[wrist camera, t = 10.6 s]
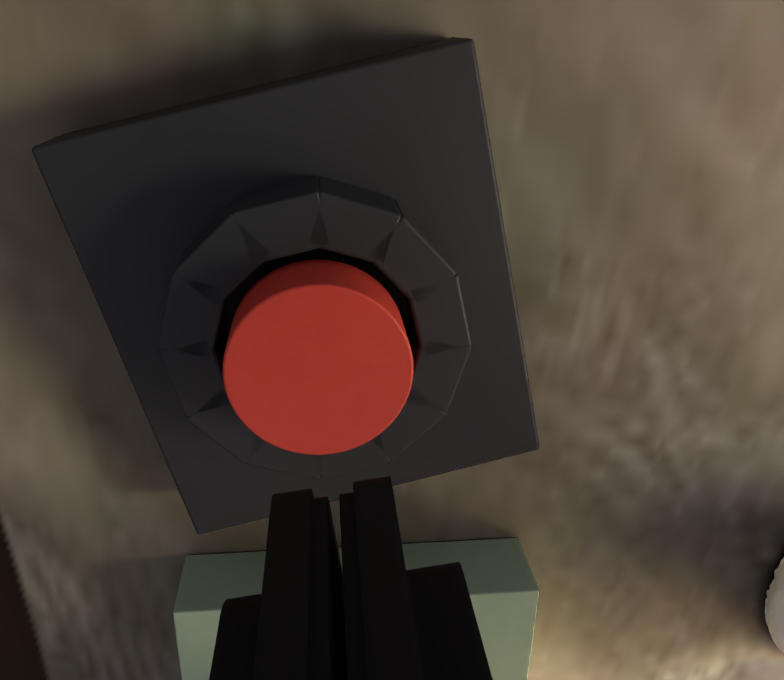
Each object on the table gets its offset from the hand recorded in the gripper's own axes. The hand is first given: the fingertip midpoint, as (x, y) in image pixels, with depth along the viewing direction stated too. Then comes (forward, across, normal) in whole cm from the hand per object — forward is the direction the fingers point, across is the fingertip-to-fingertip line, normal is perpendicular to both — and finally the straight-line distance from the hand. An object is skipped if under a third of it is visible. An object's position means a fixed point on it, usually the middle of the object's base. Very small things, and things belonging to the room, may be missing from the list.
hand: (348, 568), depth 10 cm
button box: (+11, 0, -1) cm, 11 cm away
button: (+7, 0, -1) cm, 7 cm away
